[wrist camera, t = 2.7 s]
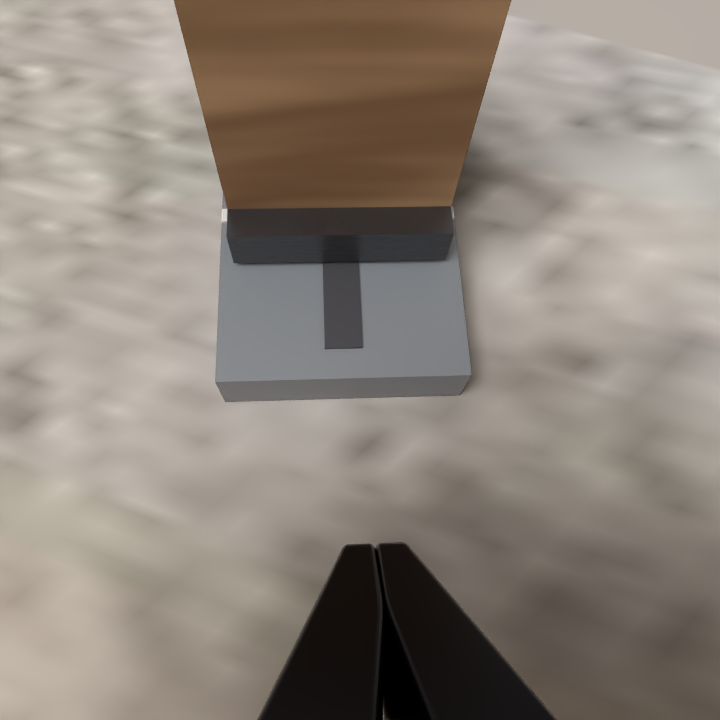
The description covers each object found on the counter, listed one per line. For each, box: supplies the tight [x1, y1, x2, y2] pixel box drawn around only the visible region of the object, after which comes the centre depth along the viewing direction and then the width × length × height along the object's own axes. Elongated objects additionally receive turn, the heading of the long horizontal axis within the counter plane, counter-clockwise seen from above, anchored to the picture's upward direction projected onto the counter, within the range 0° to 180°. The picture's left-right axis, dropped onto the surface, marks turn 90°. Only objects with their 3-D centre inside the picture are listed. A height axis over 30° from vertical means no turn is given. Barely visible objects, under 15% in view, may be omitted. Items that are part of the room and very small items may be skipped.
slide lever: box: [174, 0, 511, 263], centre depth 16 cm, size 4×7×12 cm, turn 92°
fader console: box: [215, 194, 472, 402], centre depth 24 cm, size 15×8×2 cm, turn 2°
